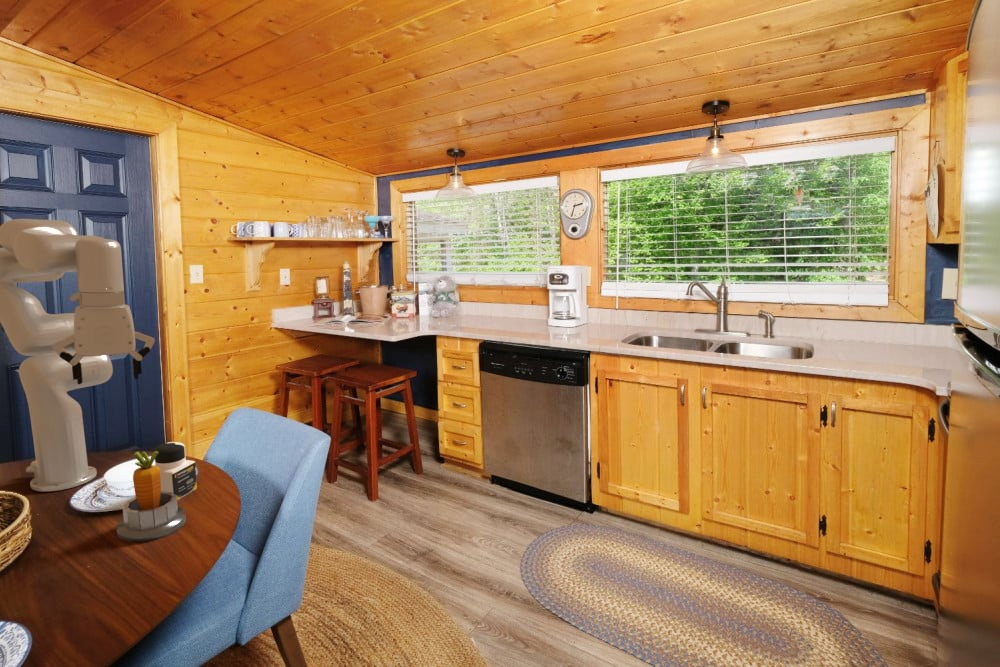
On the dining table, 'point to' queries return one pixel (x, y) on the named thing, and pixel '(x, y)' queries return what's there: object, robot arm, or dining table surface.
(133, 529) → the duct collar
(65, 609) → the dining table surface
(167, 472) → the medicine bottle
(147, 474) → the carrot
